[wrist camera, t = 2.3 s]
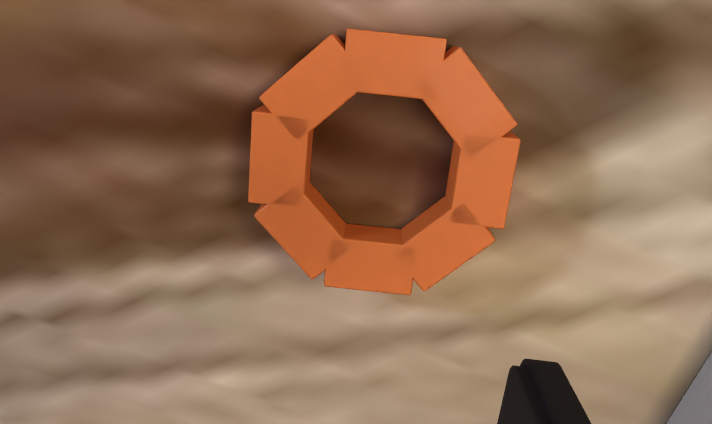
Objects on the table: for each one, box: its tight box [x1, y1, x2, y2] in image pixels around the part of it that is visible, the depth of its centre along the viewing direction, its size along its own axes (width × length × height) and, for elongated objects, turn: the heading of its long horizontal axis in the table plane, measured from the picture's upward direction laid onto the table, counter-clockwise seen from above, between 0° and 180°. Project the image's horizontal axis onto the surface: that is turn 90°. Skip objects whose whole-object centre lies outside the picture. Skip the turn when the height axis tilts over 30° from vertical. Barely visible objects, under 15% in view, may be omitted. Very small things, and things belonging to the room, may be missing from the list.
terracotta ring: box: [248, 29, 521, 295], centre depth 23 cm, size 10×10×2 cm
